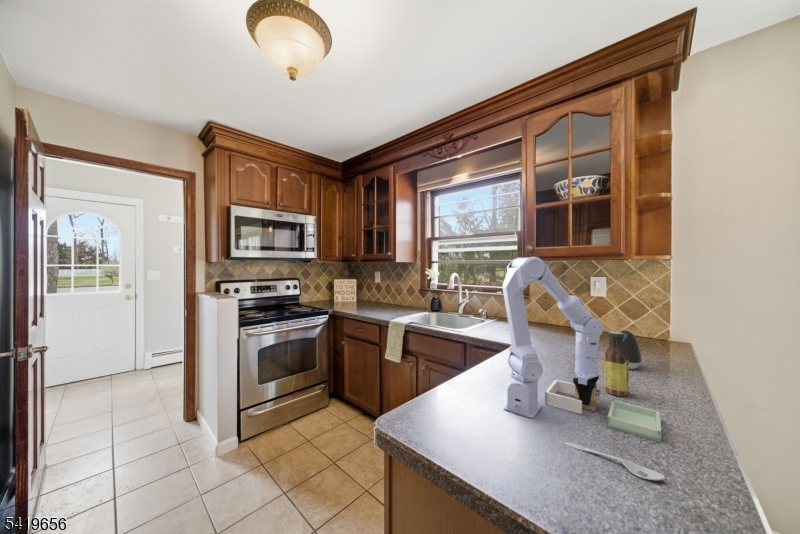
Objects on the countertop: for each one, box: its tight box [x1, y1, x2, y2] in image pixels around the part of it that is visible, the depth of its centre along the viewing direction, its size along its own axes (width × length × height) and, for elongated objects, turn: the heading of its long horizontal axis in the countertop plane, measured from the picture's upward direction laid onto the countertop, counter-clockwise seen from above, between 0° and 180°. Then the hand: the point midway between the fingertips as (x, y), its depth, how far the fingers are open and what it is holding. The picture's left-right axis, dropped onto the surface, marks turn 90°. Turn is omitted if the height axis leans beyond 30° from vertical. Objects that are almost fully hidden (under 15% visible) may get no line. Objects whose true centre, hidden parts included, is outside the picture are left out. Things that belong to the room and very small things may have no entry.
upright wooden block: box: [574, 385, 602, 412], centre depth 87 cm, size 4×6×6 cm
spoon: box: [564, 441, 666, 481], centre depth 64 cm, size 4×21×2 cm, turn 43°
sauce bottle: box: [604, 331, 630, 397], centre depth 96 cm, size 7×6×20 cm
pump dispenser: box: [619, 330, 643, 370], centre depth 120 cm, size 10×10×15 cm
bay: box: [544, 379, 583, 415], centre depth 90 cm, size 13×10×4 cm
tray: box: [607, 399, 662, 443], centre depth 77 cm, size 13×10×2 cm
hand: (586, 401), depth 87 cm, fingers closed on upright wooden block, 4 cm apart
